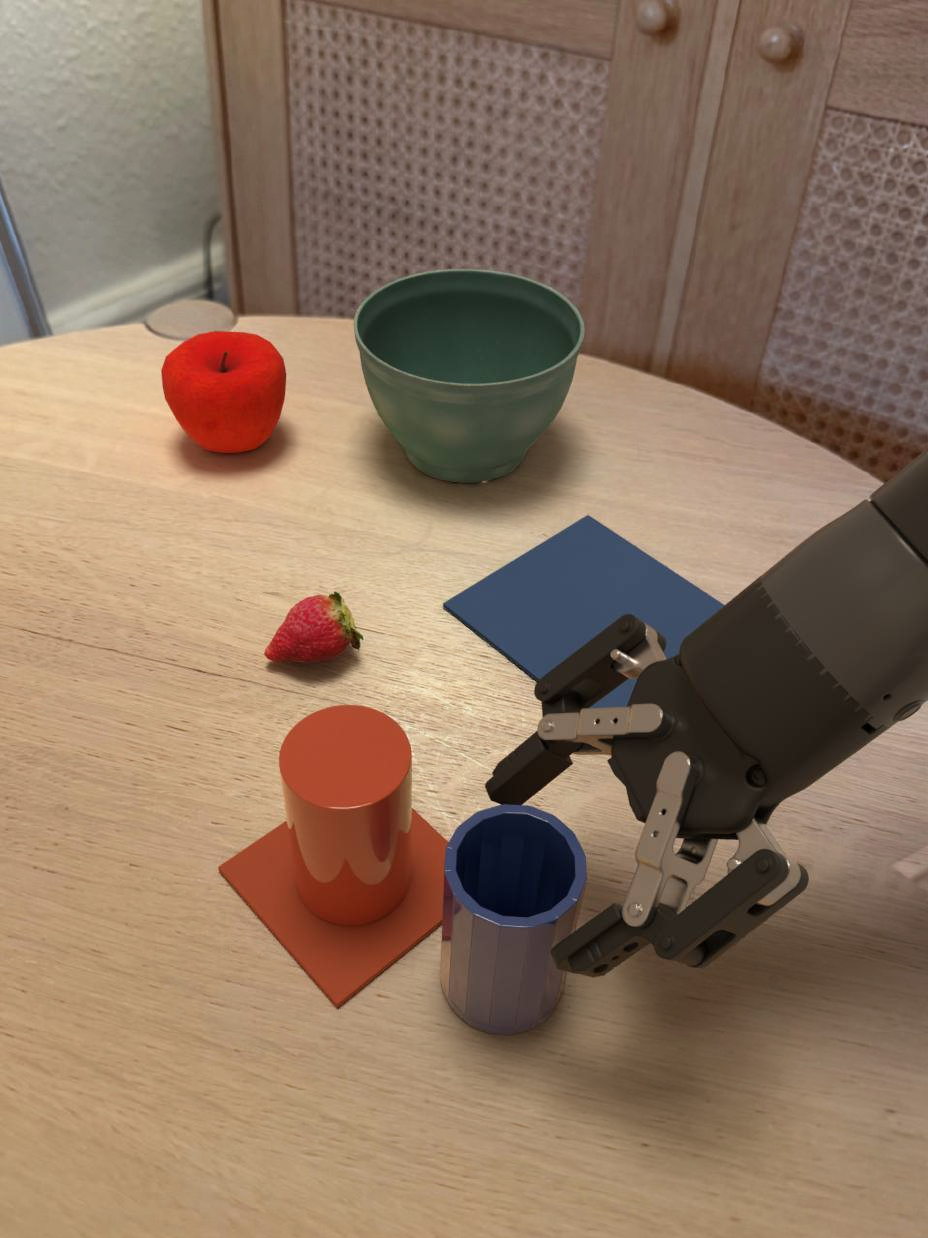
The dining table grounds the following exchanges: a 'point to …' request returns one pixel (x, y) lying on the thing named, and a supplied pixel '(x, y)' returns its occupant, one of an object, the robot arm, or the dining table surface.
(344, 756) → the tall red cylinder
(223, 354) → the apple
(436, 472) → the flower pot
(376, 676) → the dining table surface
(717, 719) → the robot arm
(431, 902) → the red mat
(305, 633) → the fruit
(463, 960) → the blue cup
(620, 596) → the blue mat
